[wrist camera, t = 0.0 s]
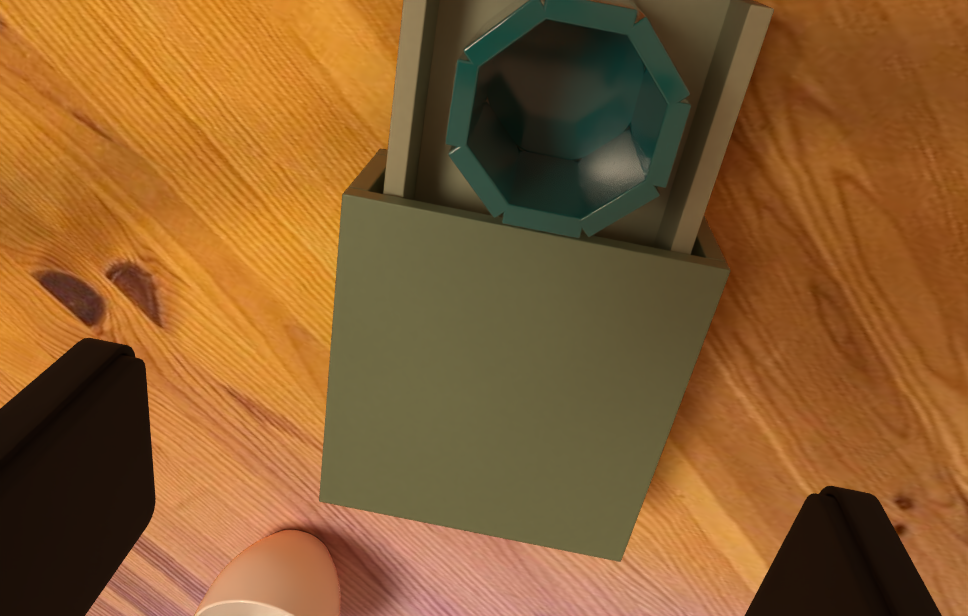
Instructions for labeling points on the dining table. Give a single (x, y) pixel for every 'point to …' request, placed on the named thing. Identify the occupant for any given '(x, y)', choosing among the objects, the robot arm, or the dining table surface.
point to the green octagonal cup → (566, 114)
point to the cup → (276, 580)
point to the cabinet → (505, 369)
